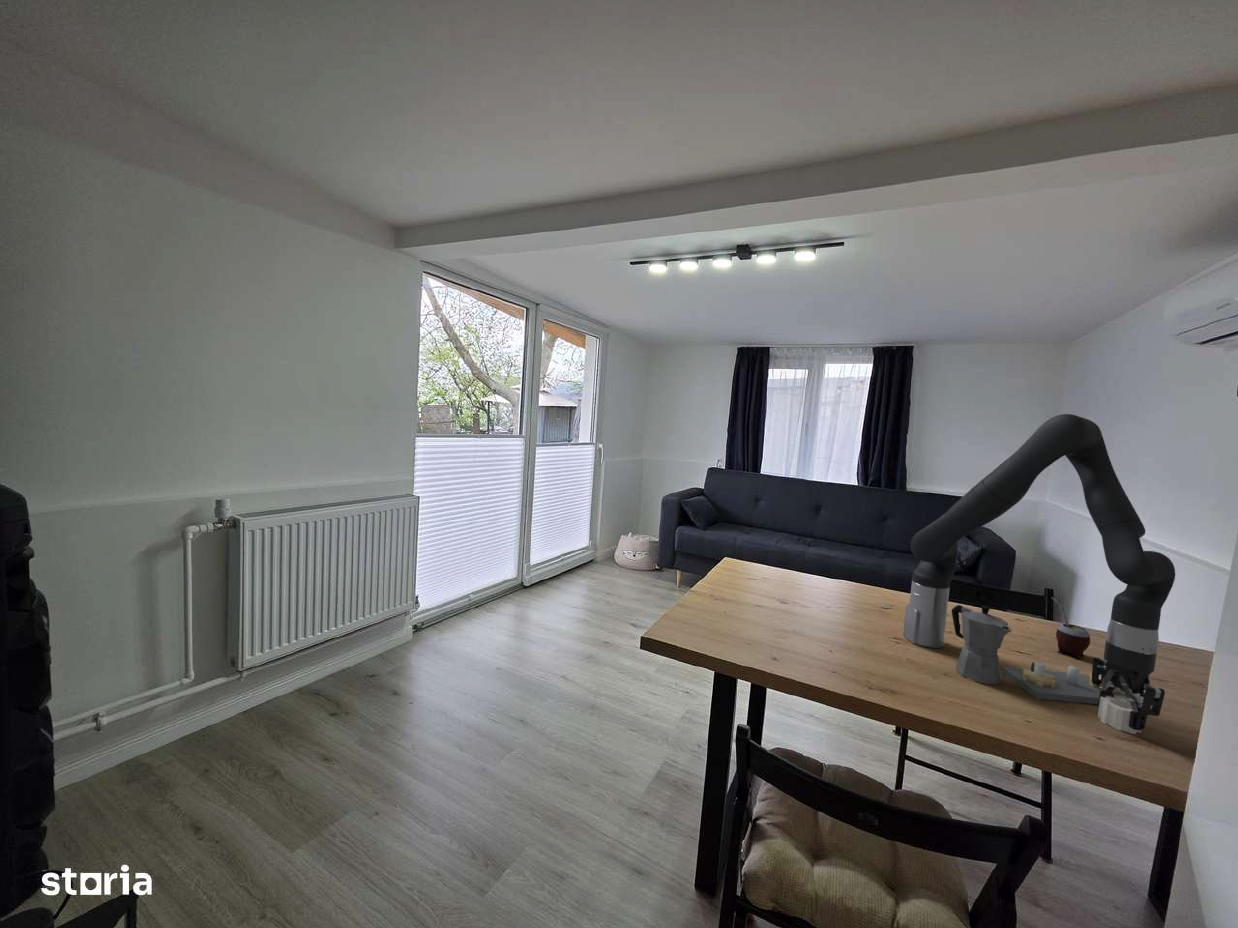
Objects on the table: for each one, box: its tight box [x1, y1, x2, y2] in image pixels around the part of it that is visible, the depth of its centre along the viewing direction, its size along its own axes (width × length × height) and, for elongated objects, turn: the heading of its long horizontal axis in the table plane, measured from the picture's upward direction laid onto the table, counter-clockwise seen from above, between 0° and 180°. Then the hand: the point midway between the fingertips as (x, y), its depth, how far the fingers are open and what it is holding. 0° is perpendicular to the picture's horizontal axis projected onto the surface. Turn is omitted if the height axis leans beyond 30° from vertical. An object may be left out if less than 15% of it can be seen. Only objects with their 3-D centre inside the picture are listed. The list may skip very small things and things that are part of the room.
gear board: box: [1001, 661, 1141, 707], centre depth 119 cm, size 24×12×6 cm, turn 85°
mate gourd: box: [1050, 596, 1091, 661], centre depth 139 cm, size 8×8×15 cm
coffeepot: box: [951, 604, 1012, 685], centre depth 124 cm, size 15×9×18 cm, turn 13°
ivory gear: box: [1097, 696, 1143, 735], centre depth 105 cm, size 7×7×4 cm
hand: (1120, 718), depth 105 cm, fingers closed on ivory gear, 6 cm apart
